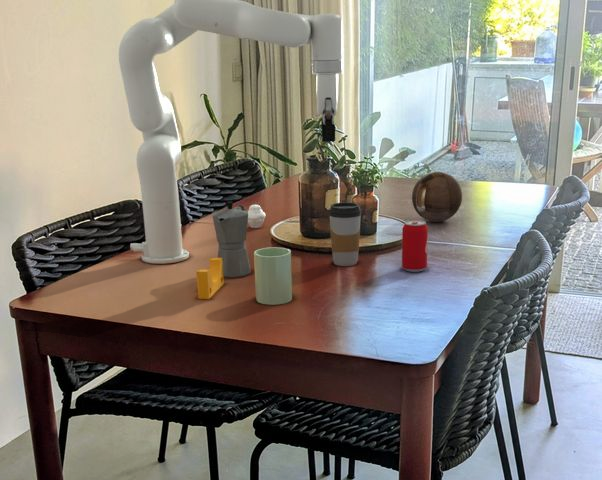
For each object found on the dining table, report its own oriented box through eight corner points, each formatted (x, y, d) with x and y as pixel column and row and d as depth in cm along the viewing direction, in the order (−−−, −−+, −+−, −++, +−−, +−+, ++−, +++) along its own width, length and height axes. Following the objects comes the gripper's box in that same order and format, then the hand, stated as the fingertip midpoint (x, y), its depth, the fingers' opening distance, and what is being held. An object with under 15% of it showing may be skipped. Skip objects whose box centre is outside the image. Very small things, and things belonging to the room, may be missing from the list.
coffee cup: (327, 259, 226) (326, 202, 221) (359, 258, 227) (359, 201, 221) (331, 268, 219) (330, 209, 213) (363, 266, 219) (363, 208, 214)
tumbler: (254, 305, 192) (252, 257, 188) (257, 293, 200) (255, 247, 196) (291, 304, 192) (290, 256, 188) (292, 293, 200) (291, 247, 196)
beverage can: (429, 266, 217) (430, 219, 213) (424, 273, 212) (425, 225, 208) (404, 265, 219) (405, 218, 215) (399, 271, 214) (399, 224, 210)
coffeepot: (241, 281, 210) (237, 207, 203) (205, 278, 212) (200, 206, 206) (263, 264, 223) (260, 195, 217) (229, 262, 226) (225, 193, 220)
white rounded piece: (242, 228, 261) (241, 205, 258) (251, 224, 266) (249, 201, 264) (261, 229, 259) (260, 206, 256) (269, 225, 264) (268, 202, 261)
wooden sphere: (446, 214, 273) (448, 166, 267) (470, 224, 259) (472, 173, 254) (403, 218, 268) (404, 170, 263) (424, 228, 255) (426, 177, 250)
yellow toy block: (206, 283, 209) (204, 257, 207) (223, 283, 208) (222, 257, 206) (190, 298, 198) (188, 271, 196) (209, 299, 197) (207, 271, 195)
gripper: (312, 66, 220) (313, 134, 226) (312, 70, 204) (313, 144, 210) (341, 65, 220) (342, 133, 226) (344, 69, 204) (344, 143, 210)
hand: (328, 138), depth 218 cm, fingers open, 9 cm apart
